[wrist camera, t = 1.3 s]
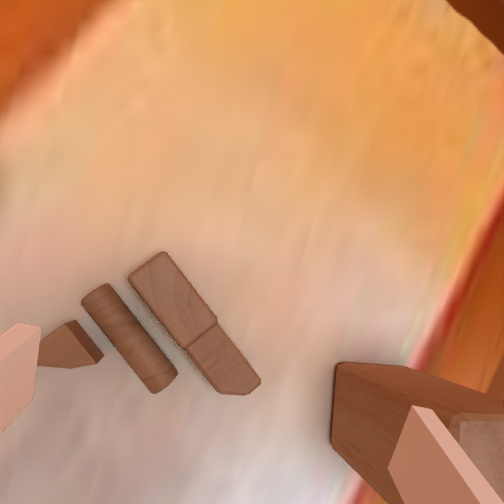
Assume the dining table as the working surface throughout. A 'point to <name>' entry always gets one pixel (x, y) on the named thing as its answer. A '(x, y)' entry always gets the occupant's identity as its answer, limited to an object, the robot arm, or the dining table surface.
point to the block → (396, 412)
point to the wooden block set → (142, 345)
